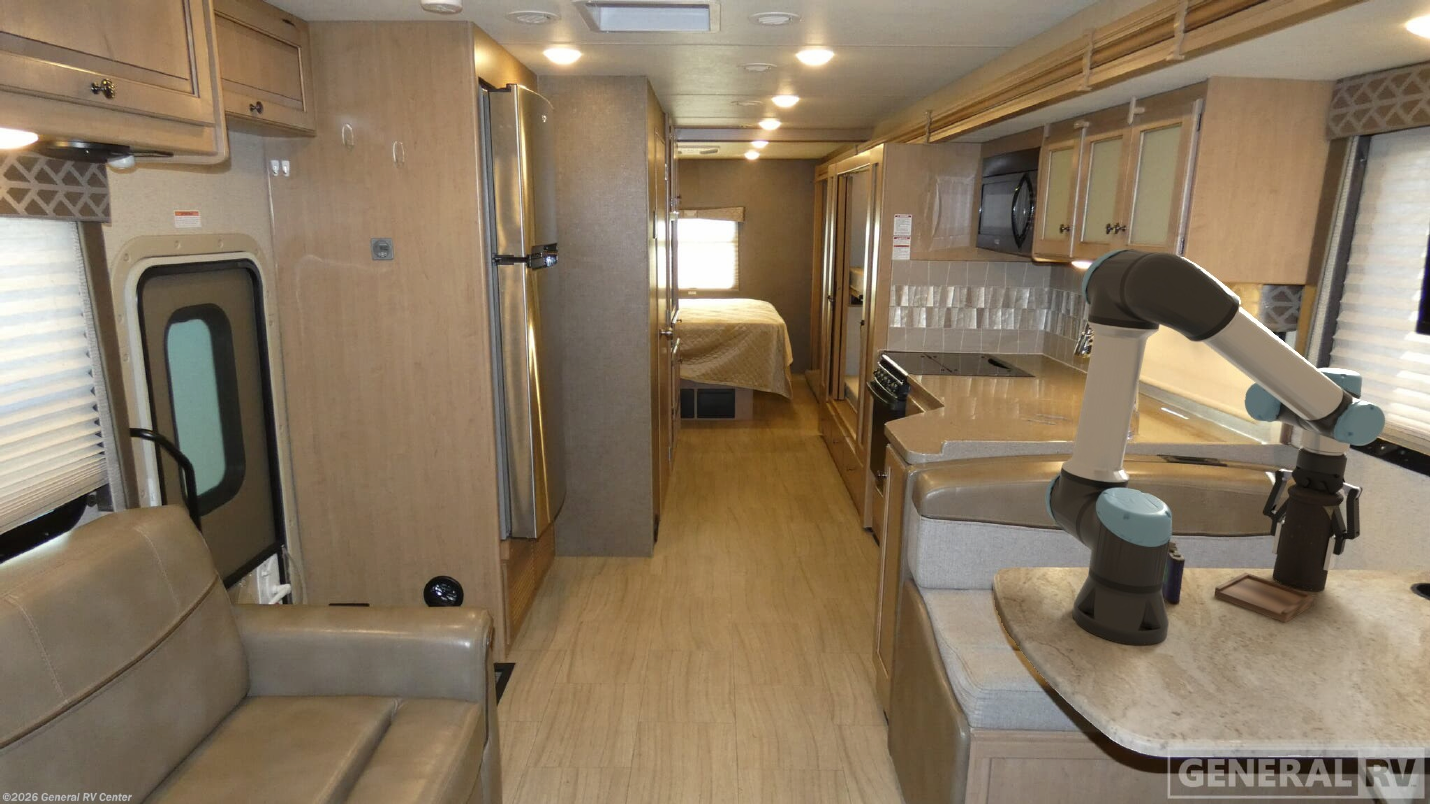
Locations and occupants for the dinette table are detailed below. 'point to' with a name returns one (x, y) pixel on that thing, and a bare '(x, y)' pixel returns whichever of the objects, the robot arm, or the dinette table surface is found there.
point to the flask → (1173, 575)
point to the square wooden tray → (1265, 596)
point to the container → (1305, 538)
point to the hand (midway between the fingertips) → (1302, 560)
